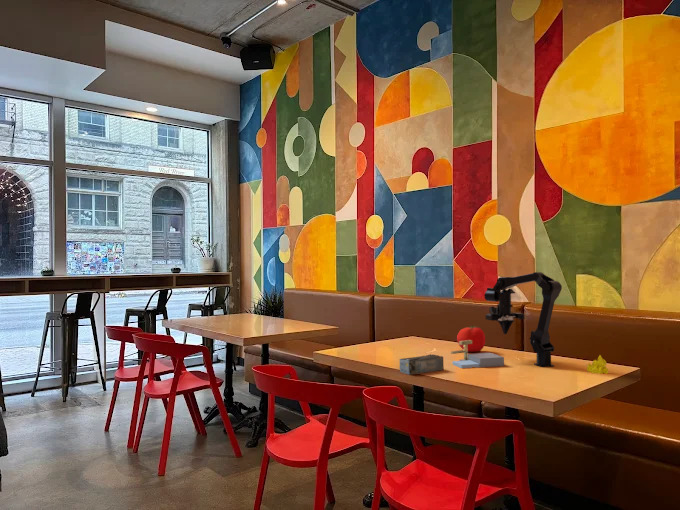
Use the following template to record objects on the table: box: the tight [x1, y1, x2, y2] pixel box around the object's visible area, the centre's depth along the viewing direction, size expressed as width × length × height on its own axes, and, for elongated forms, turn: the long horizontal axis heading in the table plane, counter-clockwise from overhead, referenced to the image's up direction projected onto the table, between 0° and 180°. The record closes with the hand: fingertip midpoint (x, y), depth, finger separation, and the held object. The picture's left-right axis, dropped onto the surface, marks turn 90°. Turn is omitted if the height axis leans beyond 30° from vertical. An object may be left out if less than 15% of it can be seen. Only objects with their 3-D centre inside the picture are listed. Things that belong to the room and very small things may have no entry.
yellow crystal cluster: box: [586, 354, 609, 375], centre depth 223 cm, size 6×8×8 cm
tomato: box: [456, 325, 486, 353], centre depth 275 cm, size 16×14×14 cm
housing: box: [459, 352, 505, 368], centre depth 245 cm, size 18×13×4 cm
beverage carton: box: [399, 353, 445, 376], centre depth 228 cm, size 8×19×7 cm, turn 118°
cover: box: [452, 360, 481, 369], centre depth 238 cm, size 9×9×2 cm
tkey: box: [450, 340, 472, 360], centre depth 249 cm, size 13×2×9 cm, turn 121°
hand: (505, 334), depth 255 cm, fingers closed
